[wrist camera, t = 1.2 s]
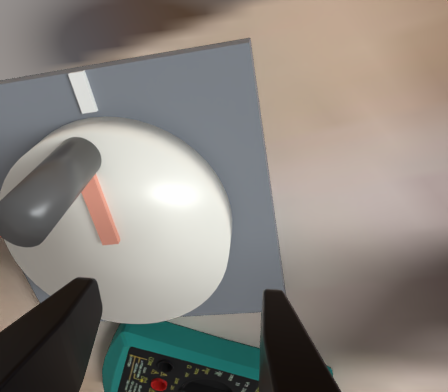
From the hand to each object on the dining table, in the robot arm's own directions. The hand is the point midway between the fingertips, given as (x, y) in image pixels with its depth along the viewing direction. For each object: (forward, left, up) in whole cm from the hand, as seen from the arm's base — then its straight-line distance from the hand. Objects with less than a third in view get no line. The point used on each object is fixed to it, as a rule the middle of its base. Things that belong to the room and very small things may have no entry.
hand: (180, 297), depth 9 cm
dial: (+6, +5, -11) cm, 13 cm away
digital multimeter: (+4, +18, -13) cm, 23 cm away
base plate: (+6, +4, -12) cm, 14 cm away
